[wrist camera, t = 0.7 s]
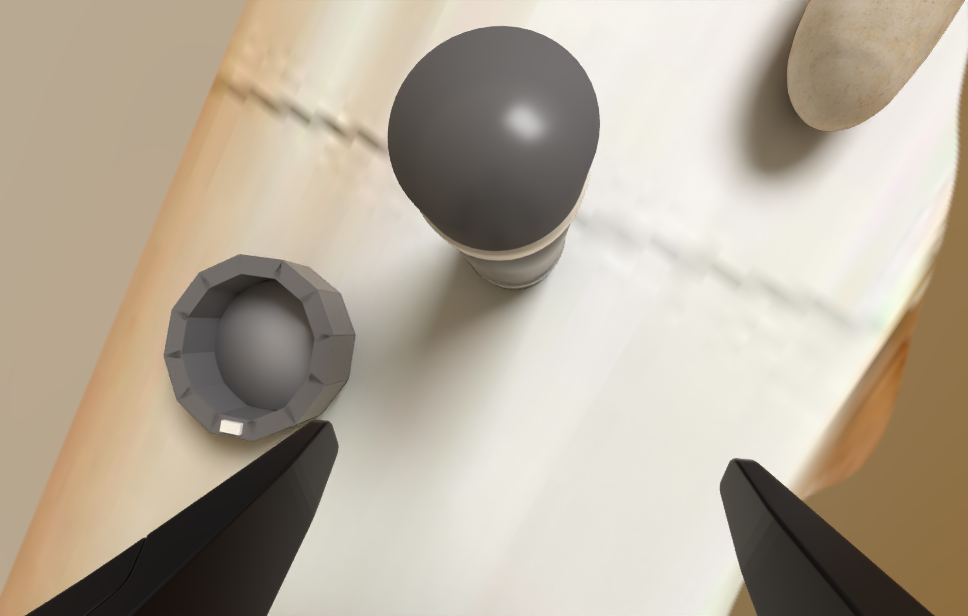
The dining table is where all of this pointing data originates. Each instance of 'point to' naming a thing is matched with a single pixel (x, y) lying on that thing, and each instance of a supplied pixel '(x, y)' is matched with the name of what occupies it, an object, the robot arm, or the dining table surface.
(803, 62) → the stone
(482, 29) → the dark grey banded cylinder
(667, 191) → the dining table surface
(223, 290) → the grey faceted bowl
